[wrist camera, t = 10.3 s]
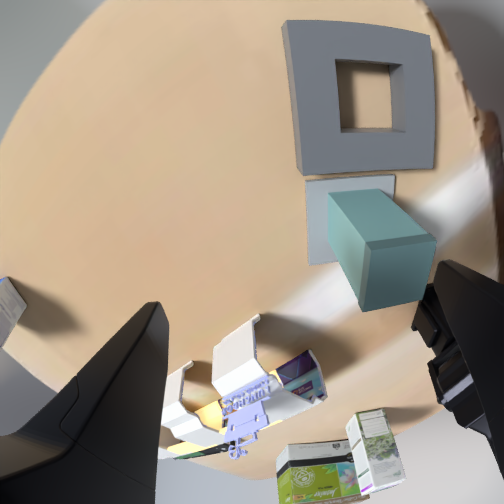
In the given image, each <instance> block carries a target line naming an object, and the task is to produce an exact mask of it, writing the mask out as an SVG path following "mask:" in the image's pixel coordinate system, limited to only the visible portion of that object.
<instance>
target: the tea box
mask: <svg viewBox="0 0 504 504" xmlns="http://www.w3.org/2000/svg"><path fill="white" fill-rule="evenodd" d="M276 470H277V483H278V494H279V504H357V503H360V502H362V501H364V500H366V499H369V498H370V497H369V494H367V495H363V496H362V495H361V492H360V487H359V483H358V478H357V473H356V468H355V464H354V459H353V455H352V451H351V446H350V443H349V440H345V441H337V442H327V443H311V444H288V445H287V446H286V447H285V448H284V450H283V451H282V452H281V453H280V455H279V456H278V457H277V459H276Z"/></svg>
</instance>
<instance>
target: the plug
mask: <svg viewBox="0 0 504 504" xmlns="http://www.w3.org/2000/svg"><path fill="white" fill-rule="evenodd" d="M328 242H329V244H330V246H331V248H332V250H333V252H334V253H335V255H336V257H337V259H338V261H339V263H340V265H341V267H342V269H343V271H344V273H345V275H346V277H347V279H348V281H349V283H350V285H351V287H352V289H353V291H354V293H355V295H356V297H357V299H358V304H359V306H360V308H361V310H362V312H367V311H372V310H377V309H382V308H386V307H391V306H396V305H400V304H405V303H409V302H413V301H418V300H422V298H423V295H424V292H425V288H426V284H427V281H428V277H429V273H430V269H431V265H432V261H433V257H434V253H435V248H436V243H437V240H436V239H435V238H434V237H433V236H432V235H431V234H430V233H429V234H428V233H427V232H426V231H425V230H424V229H423V228H422V227H421V226H420V225H419V224H418V223H416V222H415V221H414V220H413V219H412V218H411V217H410V216H409V215H408V214H407V213H406V212H404V211H403V210H402V209H401V208H400V207H399V206H398V205H397V204H395V203H394V202H393V201H392V200H391V199H390V198H388V197H387V196H386V195H385V194H384V193H383V192H381V191H380V190H379V189H378V188H377V189H364V190H352V191H341V192H330V193H328Z"/></svg>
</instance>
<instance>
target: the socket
mask: <svg viewBox="0 0 504 504" xmlns="http://www.w3.org/2000/svg"><path fill="white" fill-rule="evenodd" d="M281 28H282V35H283V42H284V49H285V56H286V64H287V72H288V80H289V89H290V98H291V107H292V117H293V127H294V138H295V149H296V162H297V168H298V170H299V171H300V172H301V174H302V175H303V176H307V175H318V174H329V173H342V172H356V171H372V170H393V169H430V168H433V159H434V140H435V92H434V74H433V61H432V51H431V43H430V35H426V34H422V33H418V32H413V31H408V30H403V29H398V28H392V27H386V26H379V25H372V24H364V23H354V22H342V21H324V20H286V21H285V23H284V24H283V26H282V27H281ZM335 62H358V63H372V64H383V65H389V73H390V86H391V106H392V128H340V113H339V99H338V87H337V76H336V67H335Z"/></svg>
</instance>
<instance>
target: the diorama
mask: <svg viewBox="0 0 504 504" xmlns="http://www.w3.org/2000/svg"><path fill="white" fill-rule="evenodd" d="M258 321H260V314H259V313H258V314H257V315H255V316H254V317H253V318H251V319H250V320H249V321H247V322H246V323H244V324H243V325H242V326H240V327H239V328H237V329H236V330H235V331H233V332H232V333H230V334H229V335H228V336H226V337H225V338H223V339H222V342H220V343H219V344H217V345H216V346H214V348H213V365H212V384H213V385H214V387H215V388H216V390H217V391H218V392H219V394H220V395H221V396H222V397H223V398H221V399H219V400H218V401H215V402H213V403H211V404H209V405H207V406H205V407H203V408H201V409H199V410H197V411H195V412H190V411H187V409H186V408H185V407H184V405H183V404H182V393H183V386H184V373H185V371H186V370H187V369H189V368H191V367H192V366H193V364H194V362H193V361H192V360H191V361H190V362H188V363H187V364H185V365H184V366H182V367H181V368H179V369H178V370H176V371H175V372H173V373H172V374H170V375H169V376H167V380H166V387H165V395H164V403H163V411H162V420H161V429H160V439H159V449H158V459H165V458H170V457H172V458H175V457H179V456H183V455H187V454H190V453H194V452H197V451H201V450H204V449H207V448H211V447H214V446H217V445H220V444H223V443H227V442H230V441H233V440H234V441H236V446H233V445H230V446H229V451H230V453H229V457H230V458H232V459H238V458H239V457H240V455H243V456H244V455H246V454H247V453H248V452H247V451H246V450H241V449H240V448H239V447H242V446H245V445H247V444H250V443H252V442H254V441H256V440H258V438H257V434H256V433H257V432H259V430H262V429H264V428H267V427H269V426H271V425H274V424H276V423H279V422H281V421H283V420H285V419H288V418H290V417H292V416H294V415H297V414H299V413H301V412H303V411H305V410H307V409H309V408H311V407H313V406H315V405H317V404H319V403H321V402H323V401H324V400H325V399H326V398H327V397H328V396H327V391H326V387H325V383H324V379H323V375H322V371H321V367H320V364H319V363H318V361H317V359H316V358H315V356H314V354H313V353H312V350H309V349H308V350H307V351H305V352H303V353H302V354H300V355H299V356H297V357H295V358H294V359H292V360H290V361H289V362H287V363H285V364H284V365H282V366H280V367H279V368H277V369H276V371H274V370H273V371H272V372H270V373H268V372H266V371H265V370H264V369H263V368H262V366H261V365H260V364H259V362H258V361H257V354H256V353H257V352H256V350H255V349H256V339H255V335H254V334H255V331H254V324H256V323H257V322H258ZM250 434H252V435H253V438H252V439H250V440H248V441H245V442H243V443H241V444H240V441H241V438H243V437H245V436H248V435H250ZM233 447H235V448H236V456H235V457H233V453H234V452H235V451H234V450H232V448H233ZM237 447H238V448H237ZM242 453H243V454H242Z"/></svg>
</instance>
